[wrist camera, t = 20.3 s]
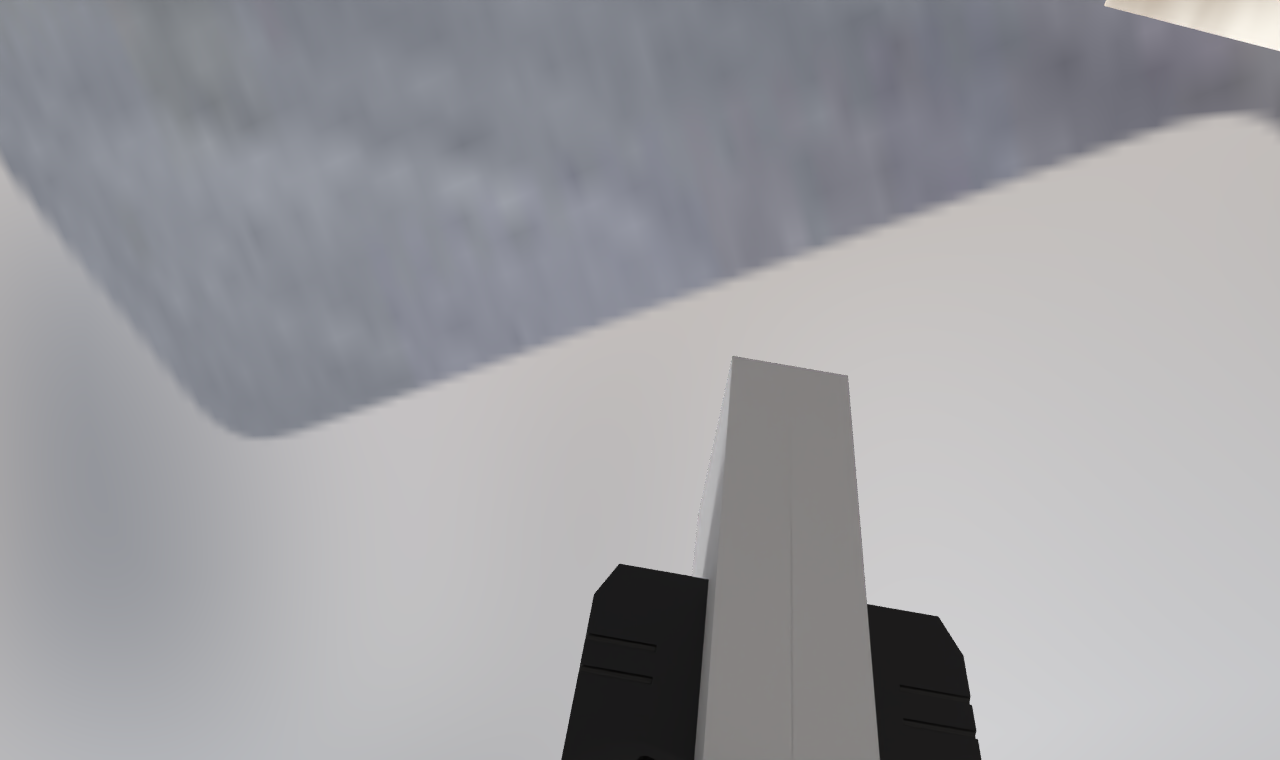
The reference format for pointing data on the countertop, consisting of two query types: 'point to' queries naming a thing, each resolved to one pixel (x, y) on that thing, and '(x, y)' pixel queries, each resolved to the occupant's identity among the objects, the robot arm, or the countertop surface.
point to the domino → (1215, 17)
